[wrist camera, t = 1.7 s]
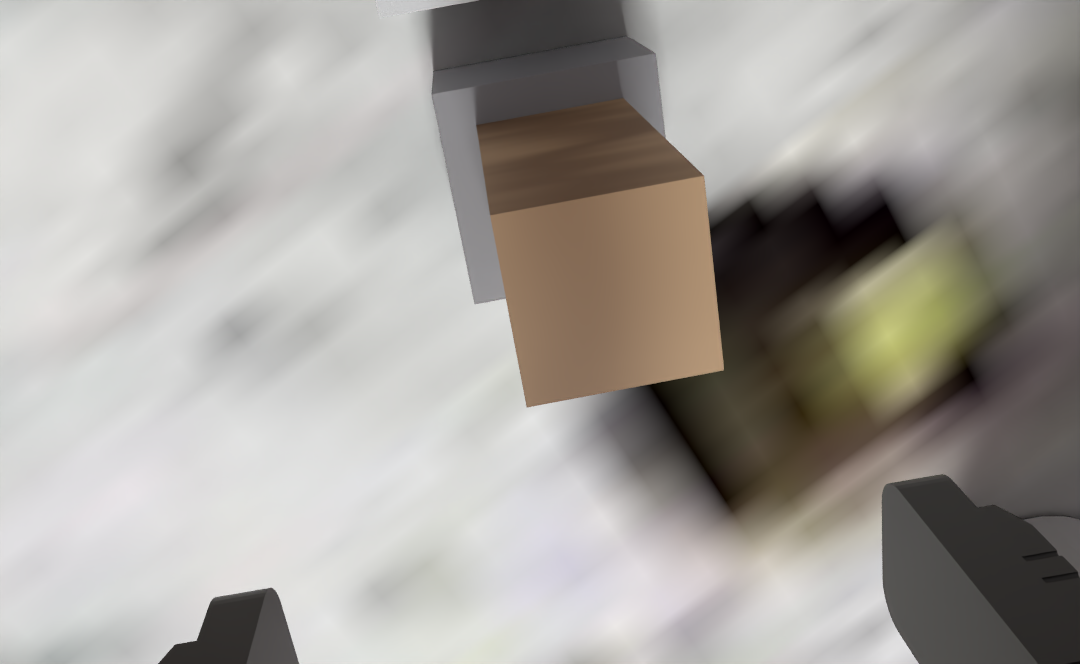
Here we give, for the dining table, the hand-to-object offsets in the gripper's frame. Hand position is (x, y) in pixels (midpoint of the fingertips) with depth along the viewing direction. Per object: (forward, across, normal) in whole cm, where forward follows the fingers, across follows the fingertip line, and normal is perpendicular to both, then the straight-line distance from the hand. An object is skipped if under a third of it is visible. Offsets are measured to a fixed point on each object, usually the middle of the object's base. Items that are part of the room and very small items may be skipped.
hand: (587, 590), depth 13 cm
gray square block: (+20, -2, -1) cm, 21 cm away
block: (+16, -2, -1) cm, 16 cm away
